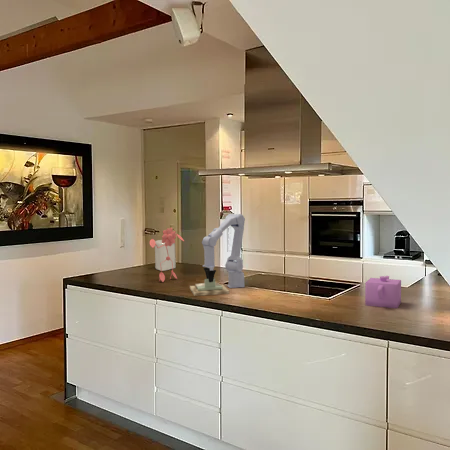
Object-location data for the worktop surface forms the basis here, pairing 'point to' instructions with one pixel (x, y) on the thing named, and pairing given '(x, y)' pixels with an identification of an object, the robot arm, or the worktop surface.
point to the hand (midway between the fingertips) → (209, 280)
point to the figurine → (168, 240)
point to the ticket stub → (209, 286)
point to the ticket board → (208, 292)
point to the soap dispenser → (164, 256)
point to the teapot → (383, 292)
